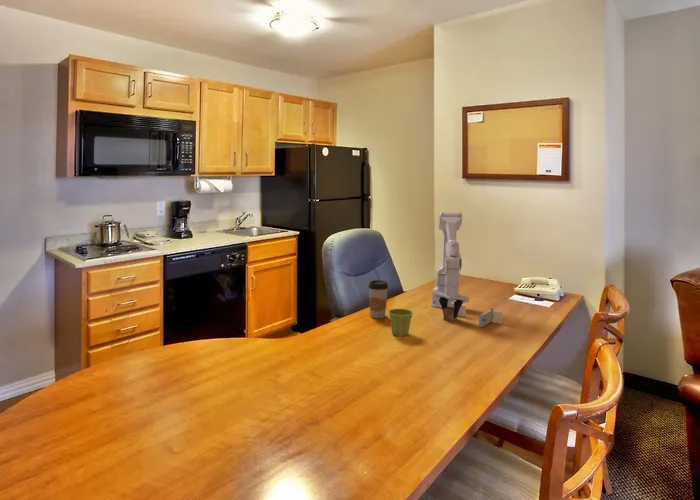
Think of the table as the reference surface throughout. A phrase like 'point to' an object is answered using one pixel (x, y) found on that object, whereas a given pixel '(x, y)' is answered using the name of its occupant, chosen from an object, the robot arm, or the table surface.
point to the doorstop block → (449, 314)
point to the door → (485, 318)
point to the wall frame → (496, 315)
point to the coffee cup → (378, 298)
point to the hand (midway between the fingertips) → (450, 316)
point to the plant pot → (400, 321)
